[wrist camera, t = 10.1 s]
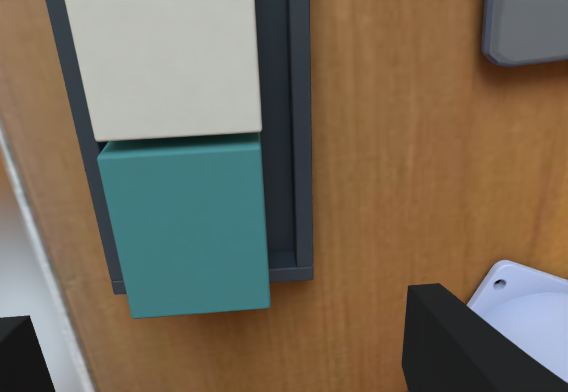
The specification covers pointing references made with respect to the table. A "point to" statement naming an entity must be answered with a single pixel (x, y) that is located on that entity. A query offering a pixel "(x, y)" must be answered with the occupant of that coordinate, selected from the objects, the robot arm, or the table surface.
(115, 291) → the frame
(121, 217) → the teal block
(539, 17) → the smartphone
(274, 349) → the table surface
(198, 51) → the cream block
